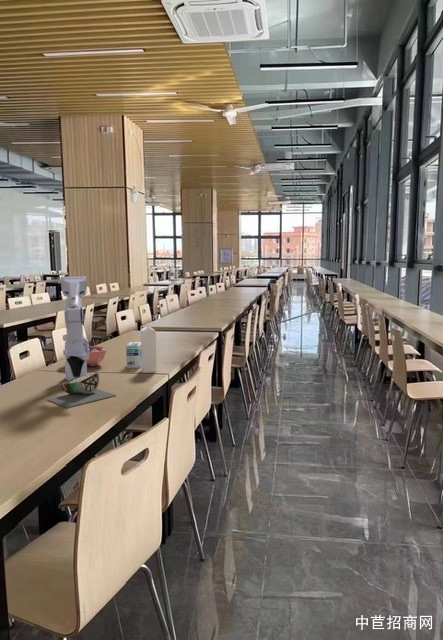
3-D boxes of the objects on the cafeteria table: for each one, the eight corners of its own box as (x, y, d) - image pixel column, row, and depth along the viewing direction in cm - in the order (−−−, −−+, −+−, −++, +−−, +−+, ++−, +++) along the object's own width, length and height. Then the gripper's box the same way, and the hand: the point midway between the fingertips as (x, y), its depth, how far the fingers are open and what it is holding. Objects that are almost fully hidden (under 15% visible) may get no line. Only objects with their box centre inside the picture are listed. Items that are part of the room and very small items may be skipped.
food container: (62, 401, 182) (84, 398, 178) (58, 385, 181) (79, 382, 177) (82, 390, 193) (103, 387, 189) (78, 375, 192) (99, 372, 189)
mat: (47, 400, 177) (47, 399, 177) (95, 389, 192) (95, 388, 192) (67, 408, 168) (67, 407, 168) (116, 396, 182) (116, 394, 182)
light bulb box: (140, 368, 229) (140, 345, 228) (126, 368, 229) (125, 345, 228) (144, 363, 240) (143, 341, 238) (130, 363, 240) (130, 341, 238)
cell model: (96, 371, 223) (95, 346, 222) (58, 368, 229) (57, 344, 228) (114, 363, 239) (113, 340, 238) (78, 361, 245) (77, 339, 244)
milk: (143, 373, 219) (141, 324, 216) (141, 370, 225) (140, 322, 222) (157, 372, 221) (155, 323, 218) (154, 369, 226) (153, 321, 224)
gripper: (55, 339, 181) (56, 375, 183) (75, 344, 172) (77, 381, 173) (72, 337, 186) (73, 372, 188) (93, 341, 177) (94, 378, 178)
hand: (76, 376), depth 181 cm, fingers closed
